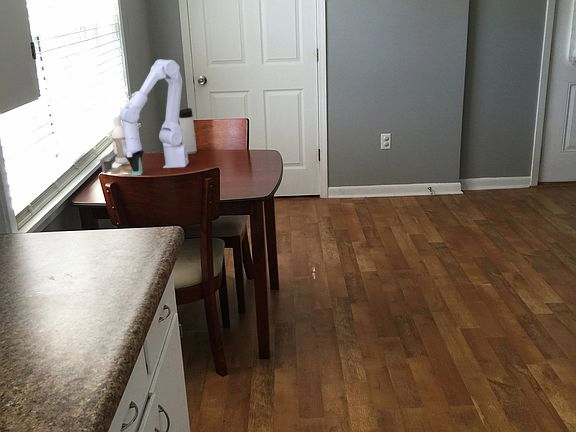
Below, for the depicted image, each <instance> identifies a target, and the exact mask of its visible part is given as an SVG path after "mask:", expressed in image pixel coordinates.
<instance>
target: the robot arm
mask: <svg viewBox="0 0 576 432" xmlns="http://www.w3.org/2000/svg"><path fill="white" fill-rule="evenodd" d="M180 69H181V68H180V65H179V64H178V62H176V61H175V60H173V59H163V58H161V59H159V58H158V59H157V60H155V62H154V64H152V66H151V67H150V71H149V73H148V75H147V77H146V78H145V80H144V82H143V84H142V85H141V87H140V89H139V90H136V91H134V93H131V95H130V96H131V98H130V99H129V101H128V102H127V103H126V104H125V105H124V106H125V107H123V108H121V110H120V112H119V115H118V117H119V118H120V119H121V123H122V126H123V128H124V134H125V141H126V147H127V148H125V149H124V151H127V152H126V159H127V160H128V161H129V162H128V163H130V165H131V168H132V170H133V172H137V171H139V157H140V158H141V165H142V161H143V156H144V153H145V152H144V150H143V146H142V143H141V140H140V139H141V138H140V132H139V131H140V130H139V123H138V120H139V119H140V112H141V111H142V109H143V107H144V106H145V105H146V103H147V102H148V95H149V93H150V92H151V90H153V87H154V86H155V85H156V83H157V82H158V81H159V80H163V79H164V80H165V81H166V82H167V84H168V86H167V87H168V89H167V99H166V107H165V108H166V109H165V121H164V123H163V124H162V125H161V129H160V131H159V134H158V138H159V140H160V142H162V145H163V146H162V148H163V155H164V162H165V165H164V166H163V167H162V168H163V169H170V168H171V169H172V168H173V169H174V168H185V167H187V165H188V164H189V163H190V161H189V154H187V147H186V145H182V139H183V137H182V133H181V127H180V123H179V111H180V110H181V109H180V108H181V100H182V99H181V98H182V89H183V79H182V75H181V71H180Z"/></svg>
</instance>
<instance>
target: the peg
mask: <svg viewBox="0 0 576 432" xmlns="http://www.w3.org/2000/svg"><path fill="white" fill-rule="evenodd" d="M132 173H133V175H141V174H142V173H143V166H142V165H141V158H140V157H139V171H137V172H133V170H132ZM133 175H132V176H133ZM142 175H143V174H142ZM142 175H141V176H142Z"/></svg>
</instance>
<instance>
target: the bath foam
mask: <svg viewBox="0 0 576 432" xmlns="http://www.w3.org/2000/svg"><path fill="white" fill-rule="evenodd" d="M113 122H114V123H113V124H114V127H113V129H112V131H111V141H112V146H113V152H114V153H113V154H117V156H116V157H114V160H115V163H117V164H125V163H127V162H128V163H129V161H128V160H127V159H126V152H127V151H124V149H125V148H127V147H126V141H125V134H124V128H123V124H122V120H121V119H120V118H119V116H115V117H113Z"/></svg>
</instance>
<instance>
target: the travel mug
mask: <svg viewBox="0 0 576 432" xmlns="http://www.w3.org/2000/svg"><path fill="white" fill-rule="evenodd" d="M178 123H179V125H180V127H181V133H182V137H183V139H182V142H181V145H186V147H187V154H188V155H193V154H196V153H197V151H198V150H197V142H196V140H197V139H196V132H195V124H194V116H193V109H192V107H191V108H189V107H187V108H184V109H180V111H179V121H178Z"/></svg>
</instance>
